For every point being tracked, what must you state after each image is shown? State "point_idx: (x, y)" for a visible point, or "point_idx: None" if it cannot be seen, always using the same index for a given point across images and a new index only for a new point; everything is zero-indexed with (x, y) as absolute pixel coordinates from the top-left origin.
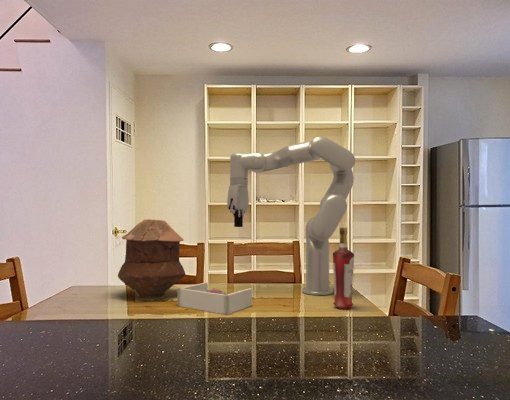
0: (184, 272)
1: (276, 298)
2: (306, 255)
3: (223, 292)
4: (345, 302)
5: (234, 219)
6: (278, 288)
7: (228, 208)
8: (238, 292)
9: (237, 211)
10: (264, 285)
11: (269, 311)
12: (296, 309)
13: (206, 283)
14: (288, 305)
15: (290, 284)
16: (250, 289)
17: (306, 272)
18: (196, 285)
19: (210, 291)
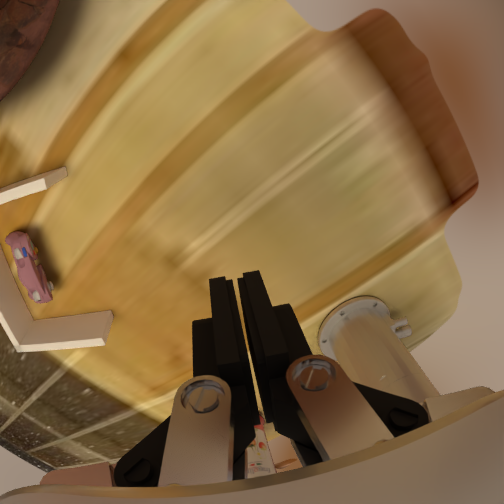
0: (8, 85)
1: None
2: (382, 386)
3: (39, 299)
4: None
5: (216, 340)
6: (351, 225)
7: (33, 501)
8: (51, 349)
9: (326, 455)
10: (369, 159)
11: (113, 365)
12: (169, 386)
13: (42, 189)
14: (183, 363)
15: (421, 214)
16: (98, 344)
17: (359, 350)
18: (2, 203)
19: (17, 267)
